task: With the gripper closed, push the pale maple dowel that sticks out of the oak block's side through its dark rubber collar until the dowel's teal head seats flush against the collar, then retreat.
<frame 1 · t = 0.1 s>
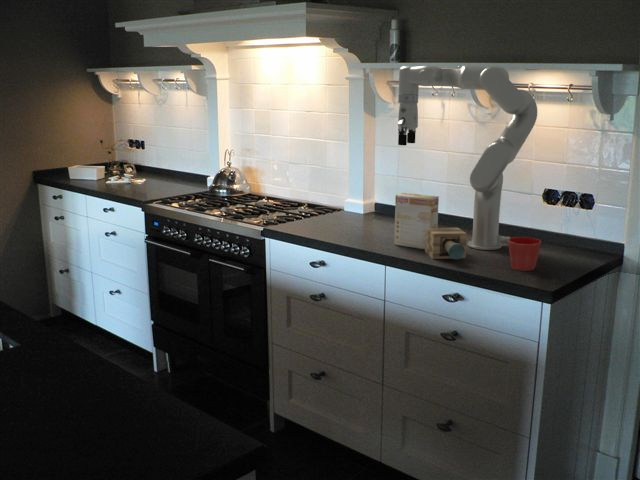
hand: (406, 144, 276), 37 cm above the countertop, tool pointing down, fingers open, 9 cm apart
coffeecake box: (415, 246, 271), on the countertop
flower pot: (522, 268, 241), on the countertop
block: (444, 255, 257), on the countertop
peg: (451, 247, 249), point 5 cm above the countertop, slide at 7.0 cm
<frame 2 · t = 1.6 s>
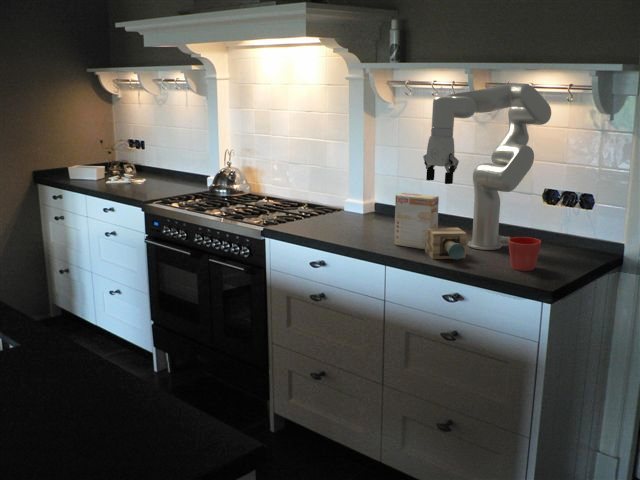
hand: (439, 182, 250), 27 cm above the countertop, tool pointing down, fingers open, 9 cm apart
nothing on the countertop moved.
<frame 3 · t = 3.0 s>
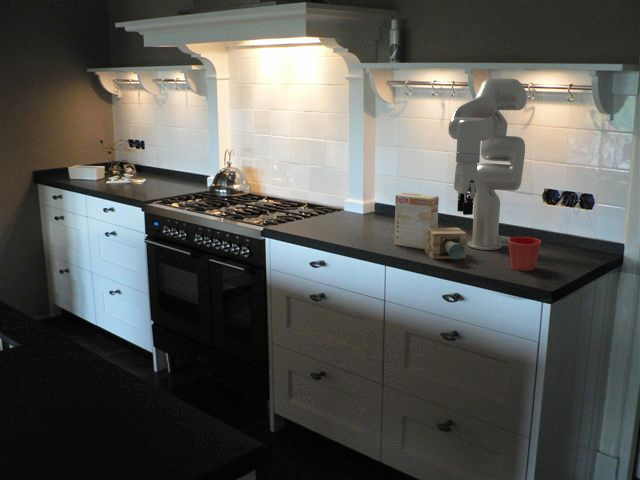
hand: (464, 212, 235), 19 cm above the countertop, tool pointing down, fingers open, 4 cm apart
nothing on the countertop moved.
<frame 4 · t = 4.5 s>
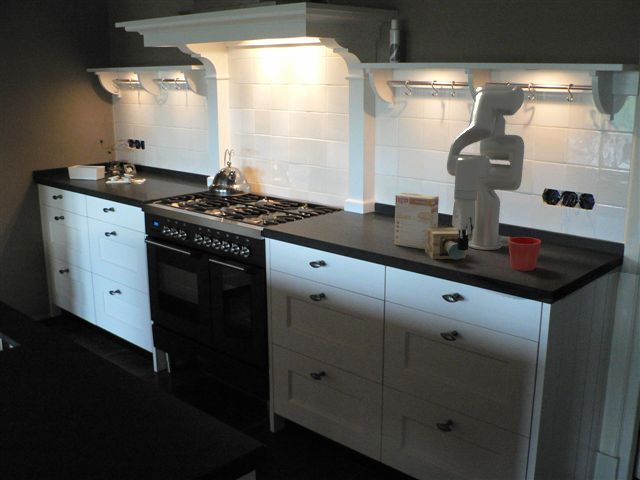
hand: (462, 249, 237), 7 cm above the countertop, tool pointing down, fingers closed
nothing on the countertop moved.
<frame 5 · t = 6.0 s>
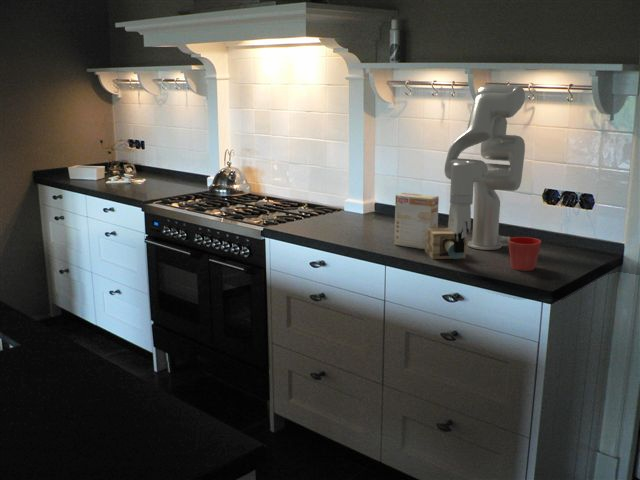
hand: (458, 252, 242), 5 cm above the countertop, tool pointing down, fingers closed
peg: (451, 247, 250), point 5 cm above the countertop, slide at 6.6 cm, touching gripper
everything else where it was.
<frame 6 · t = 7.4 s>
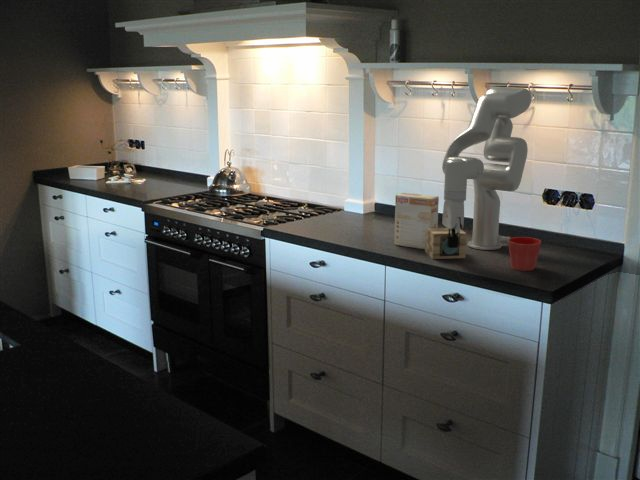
hand: (452, 247, 249), 5 cm above the countertop, tool pointing down, fingers closed
peg: (445, 243, 256), point 5 cm above the countertop, slide at -0.1 cm, touching gripper
everything else where it was.
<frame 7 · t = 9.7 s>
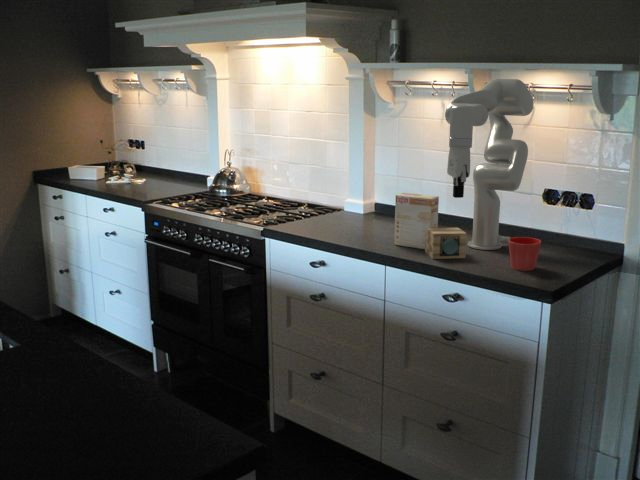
hand: (458, 197, 241), 23 cm above the countertop, tool pointing down, fingers closed
peg: (445, 243, 256), point 5 cm above the countertop, slide at 0.0 cm
everything else where it was.
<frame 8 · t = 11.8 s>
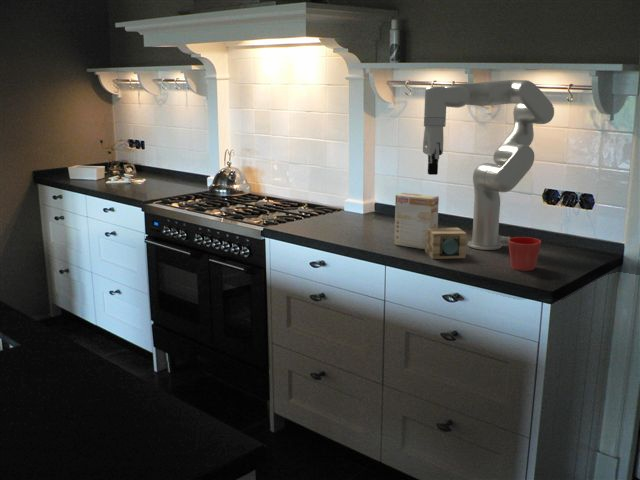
hand: (432, 174, 253), 29 cm above the countertop, tool pointing down, fingers closed
nothing on the countertop moved.
at the end: peg slide at 0.0 cm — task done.
